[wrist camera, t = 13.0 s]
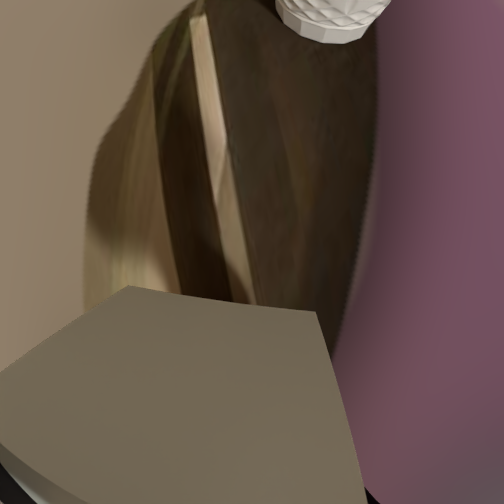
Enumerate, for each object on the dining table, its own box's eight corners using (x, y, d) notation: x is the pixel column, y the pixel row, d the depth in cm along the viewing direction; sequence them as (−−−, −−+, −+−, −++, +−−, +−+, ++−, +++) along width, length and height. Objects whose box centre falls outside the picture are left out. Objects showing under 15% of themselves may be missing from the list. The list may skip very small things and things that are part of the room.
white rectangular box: (283, 440, 12) (278, 588, 3) (142, 414, 12) (72, 534, 4) (315, 311, 10) (374, 540, 2) (128, 285, 11) (-40, 402, 2)
